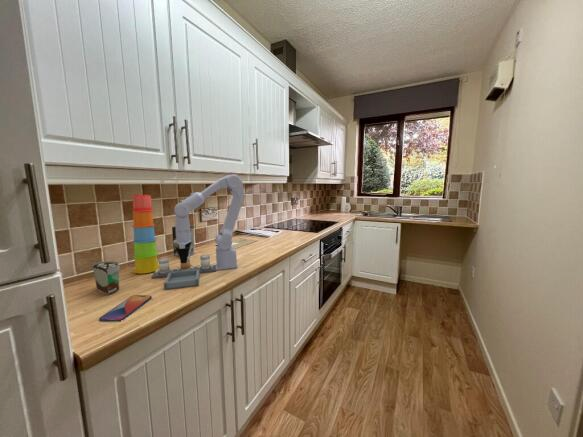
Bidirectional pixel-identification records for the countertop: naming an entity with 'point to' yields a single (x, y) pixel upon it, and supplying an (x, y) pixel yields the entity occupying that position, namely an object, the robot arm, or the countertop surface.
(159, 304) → the countertop surface
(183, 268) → the marked fuse
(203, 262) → the cylinder
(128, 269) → the countertop surface
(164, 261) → the ball
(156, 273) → the board
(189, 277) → the tray
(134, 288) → the countertop surface
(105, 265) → the food container
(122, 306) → the smartphone
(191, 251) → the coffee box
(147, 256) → the stacking cups
